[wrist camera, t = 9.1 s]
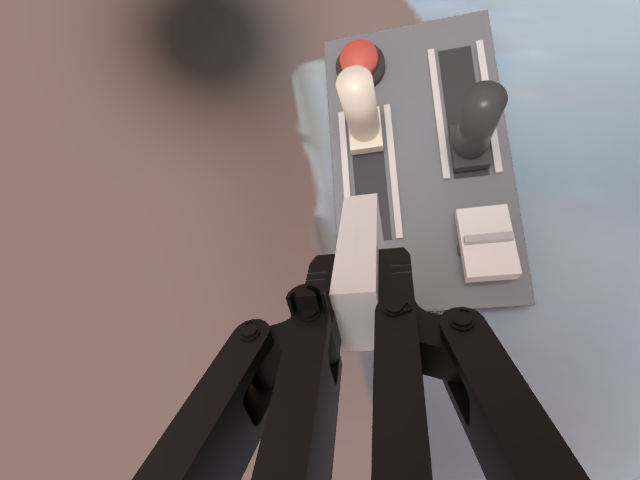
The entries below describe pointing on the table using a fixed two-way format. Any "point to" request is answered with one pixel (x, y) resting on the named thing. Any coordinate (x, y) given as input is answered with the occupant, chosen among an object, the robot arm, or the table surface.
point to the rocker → (487, 244)
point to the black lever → (476, 126)
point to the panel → (427, 153)
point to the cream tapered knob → (360, 109)
